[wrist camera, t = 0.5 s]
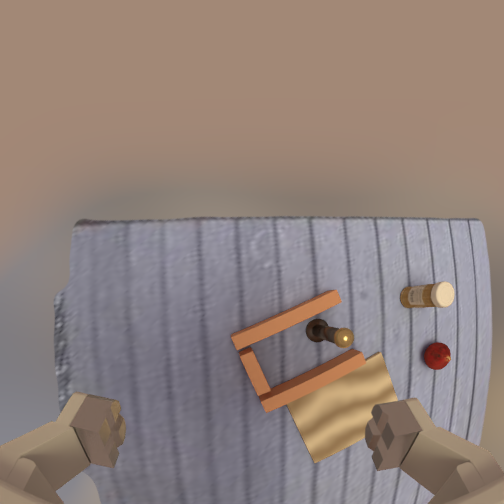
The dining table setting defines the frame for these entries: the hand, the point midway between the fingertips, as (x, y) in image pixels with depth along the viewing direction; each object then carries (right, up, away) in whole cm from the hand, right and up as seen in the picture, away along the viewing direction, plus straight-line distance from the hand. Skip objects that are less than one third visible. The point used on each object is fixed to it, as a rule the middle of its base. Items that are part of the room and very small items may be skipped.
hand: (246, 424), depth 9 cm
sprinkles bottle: (+33, -4, +52) cm, 62 cm away
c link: (+8, -13, +49) cm, 51 cm away
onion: (+38, -17, +50) cm, 66 cm away
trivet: (+19, -26, +47) cm, 57 cm away
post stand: (+12, -9, +49) cm, 52 cm away
